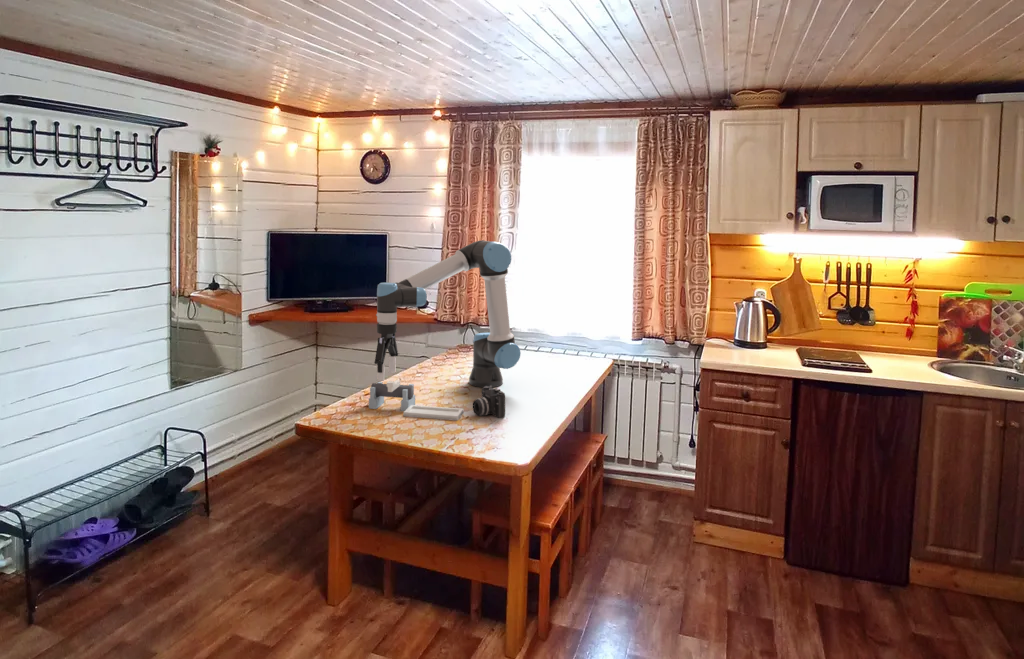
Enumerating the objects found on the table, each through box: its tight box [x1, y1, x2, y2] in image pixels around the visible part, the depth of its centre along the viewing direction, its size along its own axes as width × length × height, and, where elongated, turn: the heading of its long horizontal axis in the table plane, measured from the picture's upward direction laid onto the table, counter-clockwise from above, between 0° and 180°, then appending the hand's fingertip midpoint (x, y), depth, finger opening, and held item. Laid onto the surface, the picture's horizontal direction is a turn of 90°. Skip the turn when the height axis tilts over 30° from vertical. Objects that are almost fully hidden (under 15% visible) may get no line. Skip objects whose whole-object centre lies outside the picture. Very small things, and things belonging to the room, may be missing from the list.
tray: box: [402, 404, 464, 421], centre depth 266 cm, size 21×10×2 cm, turn 81°
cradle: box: [368, 381, 416, 412], centre depth 274 cm, size 16×10×8 cm, turn 81°
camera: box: [472, 386, 506, 419], centre depth 268 cm, size 14×11×10 cm
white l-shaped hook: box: [386, 379, 401, 392], centre depth 266 cm, size 2×10×4 cm, turn 171°
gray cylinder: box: [370, 382, 415, 399], centre depth 273 cm, size 16×5×5 cm, turn 81°
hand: (386, 376), depth 272 cm, fingers open, 13 cm apart
